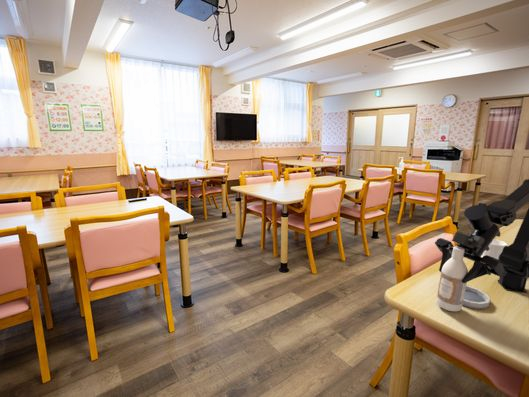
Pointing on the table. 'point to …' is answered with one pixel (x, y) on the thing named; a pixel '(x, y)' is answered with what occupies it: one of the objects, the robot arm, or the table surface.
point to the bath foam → (452, 282)
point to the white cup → (495, 249)
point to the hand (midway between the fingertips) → (450, 276)
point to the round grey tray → (475, 298)
